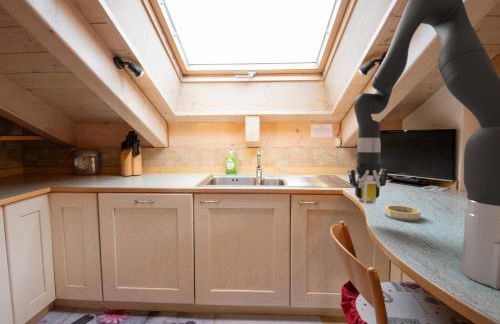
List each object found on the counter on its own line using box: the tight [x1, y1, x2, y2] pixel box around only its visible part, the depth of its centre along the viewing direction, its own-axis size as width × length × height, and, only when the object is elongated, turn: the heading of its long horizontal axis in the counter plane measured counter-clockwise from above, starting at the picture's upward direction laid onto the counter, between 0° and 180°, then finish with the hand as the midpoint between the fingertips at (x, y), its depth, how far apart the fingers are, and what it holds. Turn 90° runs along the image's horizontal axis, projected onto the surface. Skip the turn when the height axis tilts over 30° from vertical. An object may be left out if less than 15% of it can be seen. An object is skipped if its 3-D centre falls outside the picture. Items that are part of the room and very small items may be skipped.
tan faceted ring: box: [384, 204, 421, 223], centre depth 103 cm, size 12×12×3 cm
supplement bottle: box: [358, 175, 377, 206], centre depth 94 cm, size 6×6×10 cm
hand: (367, 197), depth 94 cm, fingers closed on supplement bottle, 5 cm apart
